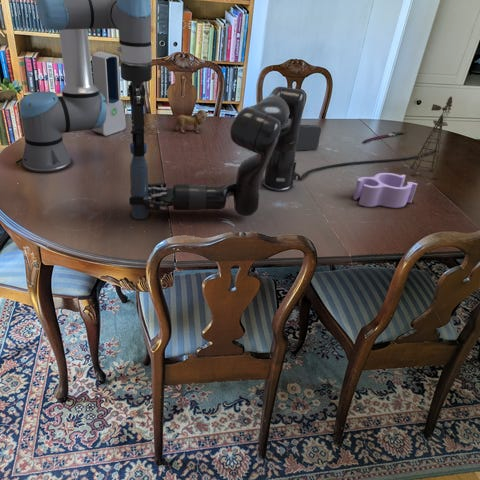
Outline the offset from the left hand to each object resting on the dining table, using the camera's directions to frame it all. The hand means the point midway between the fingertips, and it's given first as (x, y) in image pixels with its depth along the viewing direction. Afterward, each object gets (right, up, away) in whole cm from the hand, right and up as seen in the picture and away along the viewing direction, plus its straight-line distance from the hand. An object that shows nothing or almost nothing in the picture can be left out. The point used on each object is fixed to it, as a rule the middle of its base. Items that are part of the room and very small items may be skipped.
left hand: (138, 152), depth 126 cm
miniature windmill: (+99, +2, +57) cm, 115 cm away
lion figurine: (+6, +23, +73) cm, 76 cm away
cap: (0, +2, -1) cm, 2 cm away
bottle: (-2, -17, +11) cm, 20 cm away
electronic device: (-26, +21, +64) cm, 72 cm away
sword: (+94, +23, +88) cm, 131 cm away
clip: (+76, -10, +34) cm, 84 cm away
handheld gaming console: (+49, +13, +65) cm, 82 cm away
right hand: (-4, -11, +7) cm, 14 cm away
